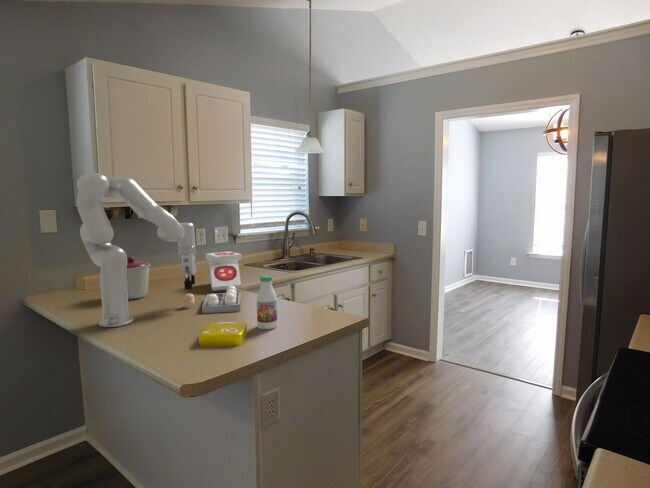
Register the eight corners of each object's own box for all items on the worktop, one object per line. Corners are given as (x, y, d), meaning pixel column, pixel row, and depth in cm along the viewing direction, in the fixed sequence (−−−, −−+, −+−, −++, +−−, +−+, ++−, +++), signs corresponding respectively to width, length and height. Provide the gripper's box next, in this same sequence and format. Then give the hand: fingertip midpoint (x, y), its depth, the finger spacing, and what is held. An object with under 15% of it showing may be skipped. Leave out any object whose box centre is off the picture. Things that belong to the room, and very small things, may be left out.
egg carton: (240, 311, 187) (239, 294, 186) (202, 313, 184) (201, 296, 183) (241, 298, 210) (240, 283, 209) (207, 299, 207) (206, 285, 206)
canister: (159, 294, 221) (157, 254, 218) (135, 302, 203) (132, 259, 201) (130, 292, 225) (128, 253, 223) (104, 300, 208) (101, 258, 206)
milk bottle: (255, 325, 166) (254, 275, 164) (274, 322, 169) (273, 273, 167) (259, 331, 159) (258, 279, 157) (279, 328, 162) (278, 277, 159)
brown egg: (194, 308, 192) (193, 294, 192) (183, 308, 192) (182, 295, 191) (195, 305, 197) (194, 292, 196) (184, 306, 196) (184, 292, 196)
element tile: (248, 332, 159) (247, 319, 159) (241, 346, 144) (241, 333, 144) (208, 333, 159) (207, 320, 158) (197, 347, 144) (196, 334, 143)
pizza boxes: (208, 294, 219) (207, 260, 217) (206, 283, 247) (205, 252, 245) (246, 291, 224) (245, 258, 222) (239, 280, 253) (238, 250, 251)
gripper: (193, 252, 184) (196, 290, 186) (197, 246, 200) (200, 282, 203) (175, 253, 182) (178, 292, 185) (181, 247, 199) (184, 283, 202)
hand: (190, 286), depth 194 cm, fingers open, 9 cm apart
